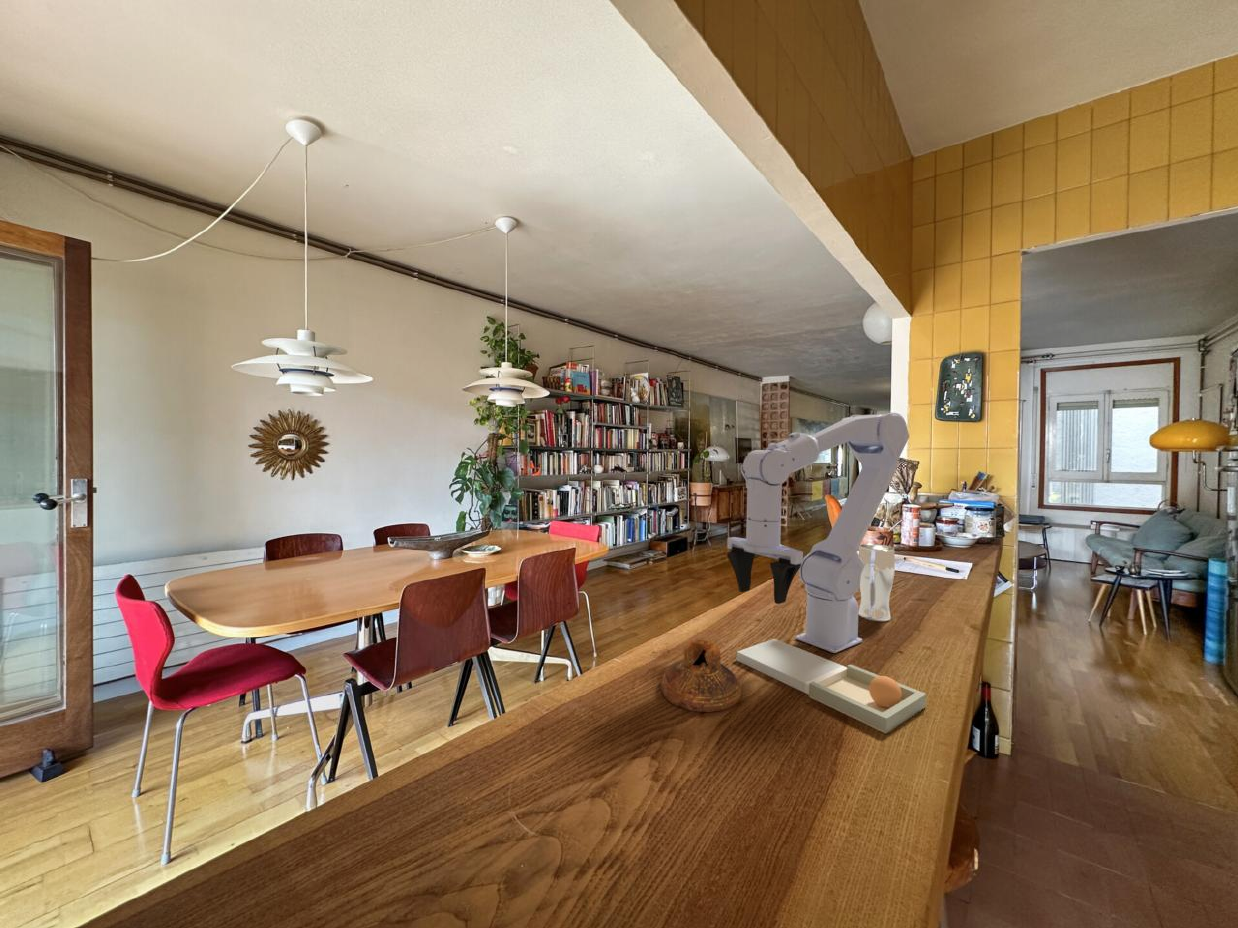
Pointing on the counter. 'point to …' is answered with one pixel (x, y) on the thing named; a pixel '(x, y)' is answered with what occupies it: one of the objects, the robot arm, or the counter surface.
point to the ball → (885, 691)
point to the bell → (701, 680)
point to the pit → (867, 700)
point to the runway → (791, 664)
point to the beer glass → (876, 581)
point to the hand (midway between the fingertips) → (761, 596)
